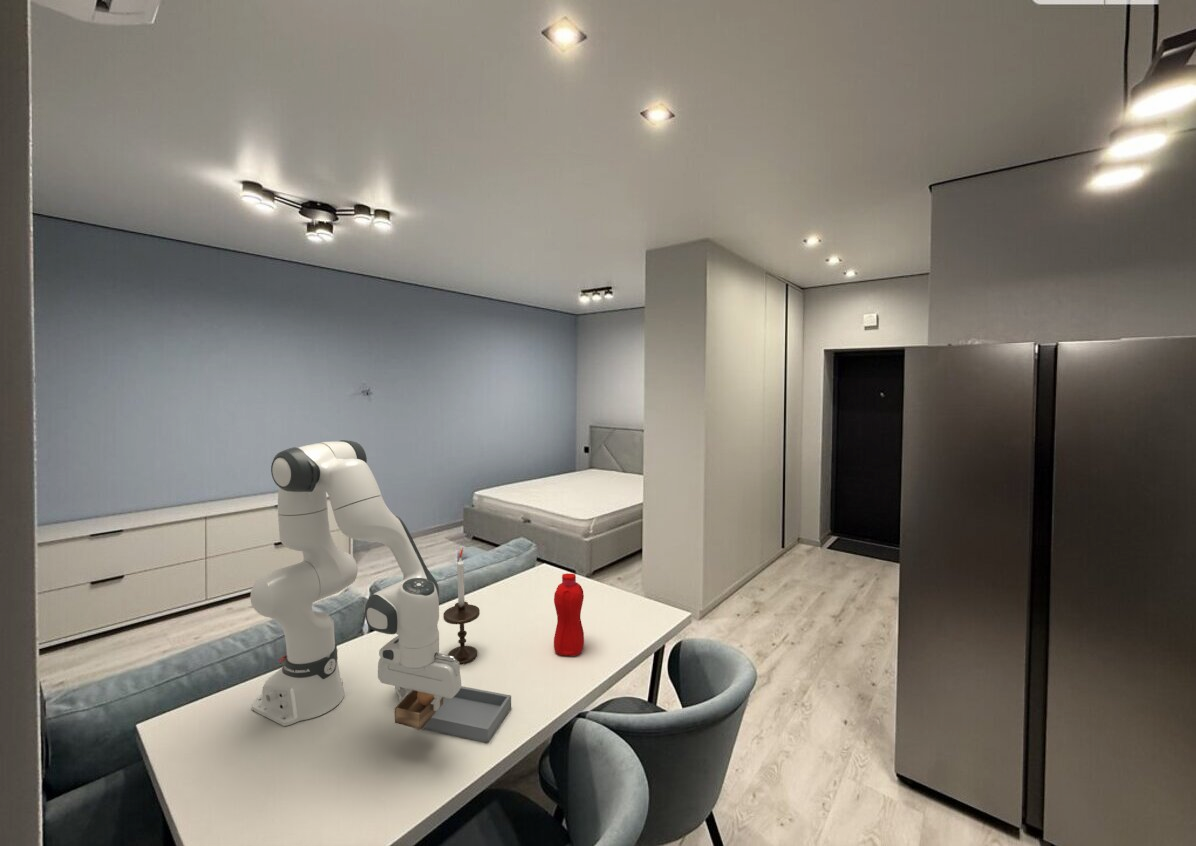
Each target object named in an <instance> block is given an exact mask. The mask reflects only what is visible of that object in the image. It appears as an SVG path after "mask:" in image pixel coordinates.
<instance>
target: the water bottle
mask: <svg viewBox="0 0 1196 846" xmlns="http://www.w3.org/2000/svg"><path fill="white" fill-rule="evenodd" d="M576 577H577V576H576V574H575V573H562V575H561V579H562V580H561V581H562V582H561V583H560V584H558V585H557V587H556V590H555V591H554V596H553V602H554V603H553V604H554V608H555V612H556V616H557V617H556V619H557V622H556V623H557V624H556V628H555V631H554V637H553V649H554V652H555V654H557V655H558V656H572V657H576V656H577V655H580V654H581V653H582V652H583V649H584V645H585V644H584V643H585V636H584V633H585V632H584V629H583V624H582V620H581V612H582V609H583V602H584V597H585V596H584V590H583V589H584V588H583V587H582V585H581V584H580V583H578V582H576V581H577V579H576Z"/></svg>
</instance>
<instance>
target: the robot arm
mask: <svg viewBox="0 0 1196 846" xmlns="http://www.w3.org/2000/svg"><path fill="white" fill-rule="evenodd" d="M270 467H271V469H270V473H271V474H270V475H271V477H272V479H273V482H274V484H275V485H276V486H278V489H277V490H278V491H277V518H278V531H279V541H280V542H281V544H282V545H283V546H284V547H286V548H287V549H290V550H294V551H296V552H297V551H298V552H302V553H301V554H302V555H303V556H302V557H303V560H302V561H301V562H297V563H295V564H291V565H289V566H286V567H282V568H279V569H276V570H274V571H272V572H269V573H268V574H266V575H264V576H263V577H260V578H258V579H257V580H255V582H254V584H253V586H252V588H251V591H250V596H249V598H250V603H251V606H252V608H253V610H254V611H255V612H256V613H258V614H259V615H260V616H263V617H265V618H269V619H272V620H274V621H275V622H276V623H278V624H279V626H280V628H282V631H283V634H284V639H285V640H284V641H285V646H286V654H285V655H283V656H282V657H280V658H279V659H278V661H279V662H278V663H279V664H280V663H283V664H282V667H281V668H279V669H278V670H277V671H276V672H274V673H273V674H272V675H271V676H270V677H268V678H267V680H265V682H264V684H263V687H262V693H261V695H259V696H258V697H257V698H256V699H255V700H254V701H253V702H252V705H251V710H252V711H253V710H254V712H255V713H257V714H259V715H261V716H263V717H265V718H267V719H269V720H271V721H272V722H275V723H277V724H279V725H280V726H283V727H287V726H290V725H293V724H295V723H297V722H301V721H305V720H310V719H314V718H316V717H319V716H322V715H324V714H326V713H328V712H329V711H331V710H333V709H334V708H336V707H337V706H338V705H339V704H340V703H341V702H342V701H343V699H344V697H345V691H344V688H343V684H344V682H343V681H344V680H343V678H342V677H341V673H340V669H339V663H338V662H339V661H338V658H339V657H338V647H337V644H336V643H335V642H336V641H335V640H336V639H335V621H334V620H333V618H332V617H331V616H330V615H329V614H327V613H326V612H323V611H314V610H313V604H314V603H315V602H318V601H321V600H323V599H325V598H328V597H330V596H334V595H335V594H338V593H340V592H342V591H343V590H345V589H346V588H348V587H349V586H351V585H352V584H353V583H355V581H356V579H357V576H358V569H359V568H358V563H357V561H356V559H355V558H354V557H353V555H351V554H350V553H348V552H347V551H344V550H342V549H341V548H339V547H338V545H337V544H336V543H335V542H334V540H333V538H332V535H331V532H330V531H331V529H330V522H329V512H328V500H327V499H328V498H329V502H330V506H331V510H332V513H333V515H334V519H335V522H336V526H337V527H338V529H339V530H340V532H341V533H342V534H343V535H345V536H346V537H348V538H350V539H353V540H355V541H360V542H361V541H362V542H373V543H374V542H375V543H380V544H381V545H382V544H383V545H385V546H386V547H387V548H388V549H389V550H390V551H391V553H392V555H393V557H394V558H395V561H396V562H397V564H398V567H399V569H400V571H401V573H402V575H403V578H402V580H400V581H397V582H396V583H393V584H391V585H389V586H386V587H384V588H382V589H380V590H378V591H376V592H375V593H373V594H372V595H370V596H369V597H368V598H367V601H366V603H365V606H364V616H365V620H366V623H367V626H368V627H369V628H370V629H371V630H373V631H375V632H378V633H381V634H386V635H397V636H395V637H393V638H392V639H391V640H388V642H386V643H385V644H384V645H383V646H382V647H381V648H380V649H379V650H378V651H379V652H378V656H379V659H378V663H377V678H378V680H379V682H380V683H381V684H385V685H390V686H393V687H394V691H395V693H396V692H397V693H396V694H397V696H398V697H399V699H398V701H399V703H400V702H401V701H402V700H403V699H404V698H405V697H406V696H407V695H408V694H409V693H408V692H406V689H410V690H415V691H419V692H424V693H428V694H432V695H434V698H436V699H434V700H433V702H431V703H430V707H431V708H430V710H433V711H437V710H438V709H439V707H440V700H441V698H442V697H445V698H450V699H451V698H453V697H454V696H455V695H456V694H457V693H458V692H459V690H460V689H461V686H462V677H461V670H460V669H461V667H460V666H461V665H460V664H459V662H458V661H457V660H456V659H454V657H453V656H450V655H449V656H448V654H444V653H440V630H439V627H438V623H439V620H440V604H439V603H440V602H439V597H440V587H439V583H438V581H437V580H436V578H435V577H434V576H433V574H432V573H431V571H430V570H429V569H428V567H427V565H426V564H425V561H424V559H423V557H422V556H421V553H420V550H419V549H418V547H417V545H416V543H415V541H414V540H413V539H414V538H413V537H412V535H411V533H410V531H409V529H408V527H407V526H406V524H405V523H404V521H403V519H401V518H400V517H399V516H397V515H394V514H393V512H392V511H391V510H390V508H389V507H388V506H387V504H386V502H385V500H384V498H383V495H382V492H381V489H380V486H379V484H378V482H377V479H376V478H375V475H374V474H373V472H372V470H371V468H370V467H369V465H368V464H367V454H366V451H365V449H364V447H363V446H362V445H361V444H360V443H358V442H356V441H354V440H345V439H344V440H339V441H322V442H316V443H312V444H307V445H302V446H299V447H296V446H293V447H290V448H287V449H283V450H282V451H279V452H277V453H276V455H275V456H274V457H273V459H272V462H271V466H270ZM327 495H328V498H327ZM405 688H406V689H405Z"/></svg>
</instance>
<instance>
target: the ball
mask: <svg viewBox="0 0 1196 846" xmlns="http://www.w3.org/2000/svg"><path fill="white" fill-rule="evenodd" d="M433 698H434V695H432V694H428V693H424V692H419V691H418V694H417V699H418V701H419V703H420V704H421V705H423V706H427V705H428V704H429V703H430V702H431V701H432V700H433Z"/></svg>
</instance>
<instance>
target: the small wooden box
mask: <svg viewBox="0 0 1196 846" xmlns="http://www.w3.org/2000/svg"><path fill="white" fill-rule="evenodd" d="M417 694H418V691H415V690H412V691H411V692H410V693H409V694H408V695H407V696H406V697H405V698H404V699H403V700H402V701H401V702H400V701H399V703H398V704H397V705H396V706H395V707H394V723H395V724H399V725H402V726H404V727H405V726H406V727H410V728H413V729H417V730H423V729H422V727H423V726H424V725H425V724H426V723H427V722H428V721H429V719H430V718H431V717H432V716H433V715H434V714H435V712H436V711H433V710H430V708H431V707H430V703H431V702H433V700H434V699H436V698H433V700H432V701H431V702H430V703H429V704H428V705H427V706H423V705H421V704H420V703H419V701H418V699H417ZM442 704H443V697H442V698H441V700H440V707H441V706H442ZM440 707H439V708H440Z"/></svg>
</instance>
